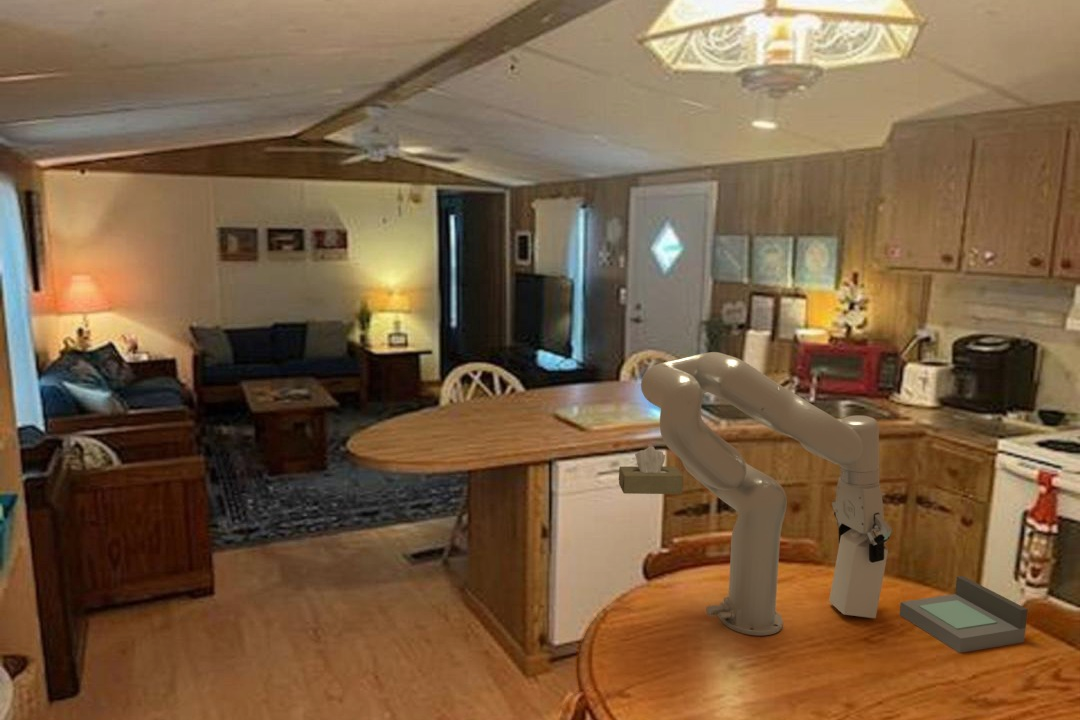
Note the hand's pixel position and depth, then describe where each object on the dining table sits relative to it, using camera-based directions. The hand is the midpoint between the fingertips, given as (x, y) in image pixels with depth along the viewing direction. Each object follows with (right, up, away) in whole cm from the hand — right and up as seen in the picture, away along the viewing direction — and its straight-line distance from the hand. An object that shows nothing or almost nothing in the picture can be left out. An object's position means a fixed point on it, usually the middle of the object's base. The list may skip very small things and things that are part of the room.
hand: (860, 551), depth 163 cm
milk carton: (-2, -13, +1) cm, 13 cm away
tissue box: (-34, -2, +78) cm, 85 cm away
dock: (+18, -15, -5) cm, 24 cm away
